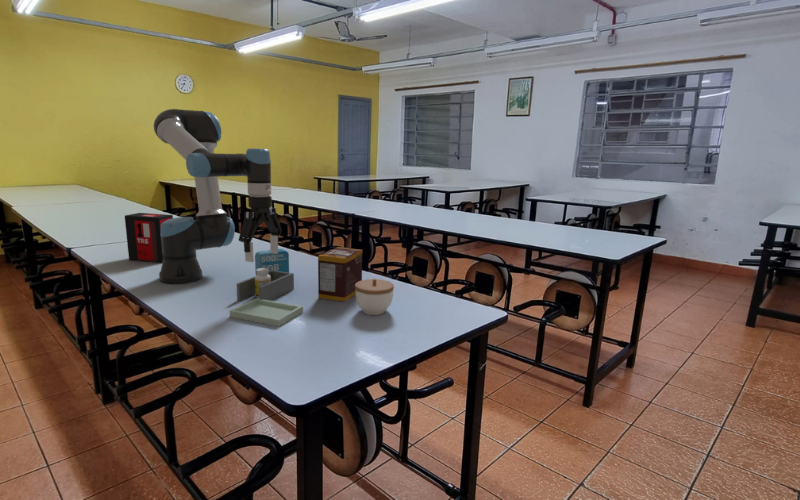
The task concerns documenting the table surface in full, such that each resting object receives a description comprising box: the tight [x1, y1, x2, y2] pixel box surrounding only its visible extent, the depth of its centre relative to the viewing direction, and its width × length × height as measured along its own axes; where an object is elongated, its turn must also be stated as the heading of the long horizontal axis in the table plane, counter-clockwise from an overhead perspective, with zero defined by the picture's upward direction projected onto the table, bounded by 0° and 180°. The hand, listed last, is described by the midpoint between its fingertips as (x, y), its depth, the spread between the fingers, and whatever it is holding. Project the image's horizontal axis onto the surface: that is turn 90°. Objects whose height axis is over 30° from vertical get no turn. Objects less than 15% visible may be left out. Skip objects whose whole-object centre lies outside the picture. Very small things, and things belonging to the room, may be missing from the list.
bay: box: [236, 270, 295, 301], centre depth 159 cm, size 10×19×6 cm, turn 160°
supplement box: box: [317, 246, 363, 303], centre depth 162 cm, size 10×15×16 cm
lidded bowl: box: [354, 278, 395, 316], centre depth 147 cm, size 13×13×11 cm
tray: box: [229, 297, 304, 327], centre depth 141 cm, size 18×13×2 cm
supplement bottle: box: [254, 268, 271, 299], centre depth 157 cm, size 5×5×10 cm
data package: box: [254, 248, 290, 276], centre depth 175 cm, size 12×4×12 cm, turn 129°
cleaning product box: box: [124, 212, 174, 264], centre depth 199 cm, size 16×9×20 cm, turn 80°
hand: (262, 257), depth 155 cm, fingers open, 13 cm apart
